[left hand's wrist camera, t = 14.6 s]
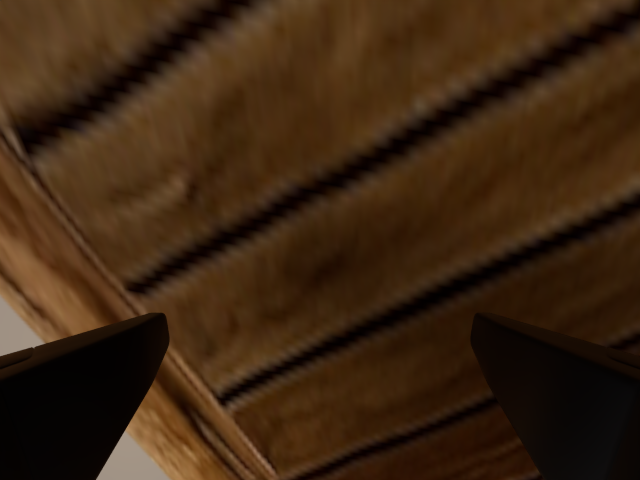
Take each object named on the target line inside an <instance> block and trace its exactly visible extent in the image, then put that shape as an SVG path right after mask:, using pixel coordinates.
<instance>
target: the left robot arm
mask: <svg viewBox="0 0 640 480" xmlns="http://www.w3.org/2000/svg"><path fill="white" fill-rule="evenodd" d="M168 346H169V331H168V325H167V319H166V316H165V314H164V313H148V314H145V315H142V316H138V317H135V318H131V319H128V320H125V321H121V322H118V323H114V324H111V325H108V326H104V327H101V328H97V329H94V330H91V331H87V332H84V333H80V334H77V335H74V336H70V337H67V338H63V339H60V340H57V341H53V342H50V343H46V344H43V345H40V346H36V347H35V348H32V347H31V348H28V349H24V350H21V351H17V352H14V353H10V354H7V355H3V356H0V480H96V479H97V477H98V475H99V474H100V472H101V470H102V468H103V467H104V465H105V463H106V462H107V460H108V458H109V457H110V455H111V453H112V451H113V450H114V448H115V446H116V445H117V443H118V441H119V440H120V438H121V436H122V434H123V433H124V431H125V429H126V428H127V426H128V424H129V423H130V421H131V419H132V418H133V416H134V414H135V412H136V411H137V409H138V407H139V406H140V404H141V402H142V401H143V399H144V397H145V395H146V394H147V392H148V390H149V389H150V387H151V385H152V383H153V381H154V379H155V377H156V374H157V372H158V370H159V367H160V365H161V363H162V360H163V358H164V356H165V353H166V351H167V349H168ZM471 346H472V349H473V351H474V353H475V356H476V358H477V360H478V363H479V365H480V367H481V370H482V372H483V374H484V377H485V379H486V381H487V383H488V385H489V387H490V389H491V390H492V392H493V394H494V395H495V397H496V399H497V401H498V402H499V404H500V406H501V407H502V409H503V411H504V412H505V414H506V416H507V418H508V419H509V421H510V423H511V424H512V426H513V428H514V429H515V431H516V433H517V435H518V436H519V438H520V440H521V441H522V443H523V445H524V446H525V448H526V450H527V452H528V453H529V455H530V457H531V458H532V460H533V462H534V463H535V465H536V467H537V469H538V470H539V472H540V474H541V475H542V477H543V479H544V480H640V356H637V355H633V354H630V353H626V352H623V351H619V350H616V349H612V348H609V347H607V348H605V347H604V346H600V345H597V344H594V343H590V342H587V341H583V340H580V339H577V338H573V337H570V336H566V335H563V334H560V333H556V332H553V331H549V330H546V329H543V328H539V327H536V326H532V325H529V324H526V323H522V322H519V321H515V320H512V319H509V318H505V317H502V316H498V315H495V314H492V313H476V314H475V316H474V319H473V325H472V331H471Z"/></svg>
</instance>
